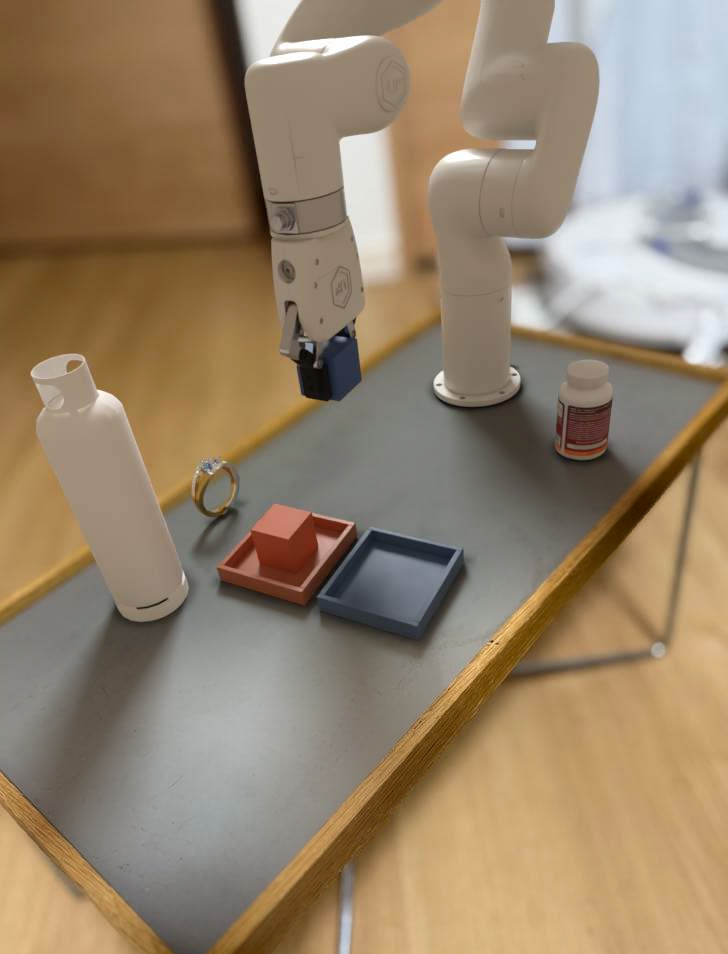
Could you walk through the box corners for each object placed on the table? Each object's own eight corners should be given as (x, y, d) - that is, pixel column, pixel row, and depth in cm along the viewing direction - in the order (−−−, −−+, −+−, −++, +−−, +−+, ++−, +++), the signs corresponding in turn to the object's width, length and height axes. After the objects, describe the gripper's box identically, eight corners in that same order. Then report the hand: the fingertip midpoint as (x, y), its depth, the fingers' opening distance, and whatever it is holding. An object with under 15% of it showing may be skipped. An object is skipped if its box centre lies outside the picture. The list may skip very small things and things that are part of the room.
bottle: (102, 611, 78) (-9, 383, 60) (147, 565, 83) (56, 342, 65) (160, 629, 74) (59, 392, 57) (202, 579, 80) (122, 348, 62)
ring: (235, 495, 92) (221, 443, 87) (251, 502, 90) (238, 450, 85) (194, 523, 88) (177, 470, 83) (210, 532, 86) (193, 478, 81)
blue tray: (371, 539, 81) (369, 525, 80) (464, 561, 76) (463, 547, 74) (319, 610, 73) (316, 596, 72) (418, 640, 68) (417, 626, 67)
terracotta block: (282, 537, 83) (274, 503, 80) (318, 546, 80) (312, 512, 77) (259, 563, 80) (249, 529, 76) (296, 574, 77) (288, 539, 74)
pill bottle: (617, 448, 87) (628, 366, 80) (582, 468, 85) (591, 386, 78) (577, 430, 92) (585, 351, 85) (543, 448, 90) (548, 369, 83)
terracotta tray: (277, 516, 87) (274, 503, 85) (357, 536, 82) (355, 522, 80) (220, 580, 79) (216, 567, 78) (304, 606, 74) (301, 592, 73)
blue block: (324, 375, 81) (317, 333, 78) (362, 380, 78) (357, 338, 75) (301, 395, 78) (293, 353, 74) (340, 401, 75) (334, 358, 72)
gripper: (291, 243, 59) (321, 429, 71) (383, 186, 70) (396, 356, 81) (221, 240, 63) (261, 418, 74) (319, 187, 73) (340, 350, 85)
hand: (331, 384), depth 78 cm, fingers closed on blue block, 5 cm apart
